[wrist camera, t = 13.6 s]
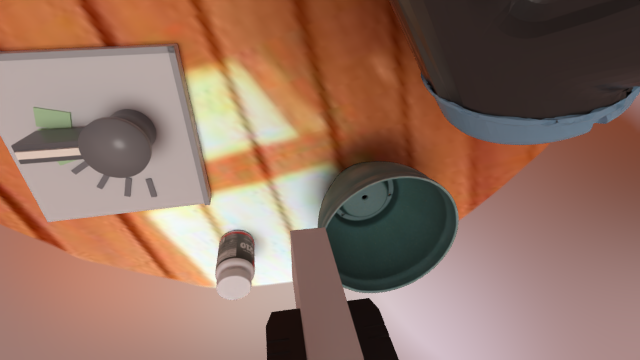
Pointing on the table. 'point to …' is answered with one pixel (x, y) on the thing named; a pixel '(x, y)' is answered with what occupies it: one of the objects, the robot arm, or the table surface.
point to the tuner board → (96, 102)
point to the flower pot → (387, 225)
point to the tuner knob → (95, 144)
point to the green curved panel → (64, 121)
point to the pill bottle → (235, 265)
